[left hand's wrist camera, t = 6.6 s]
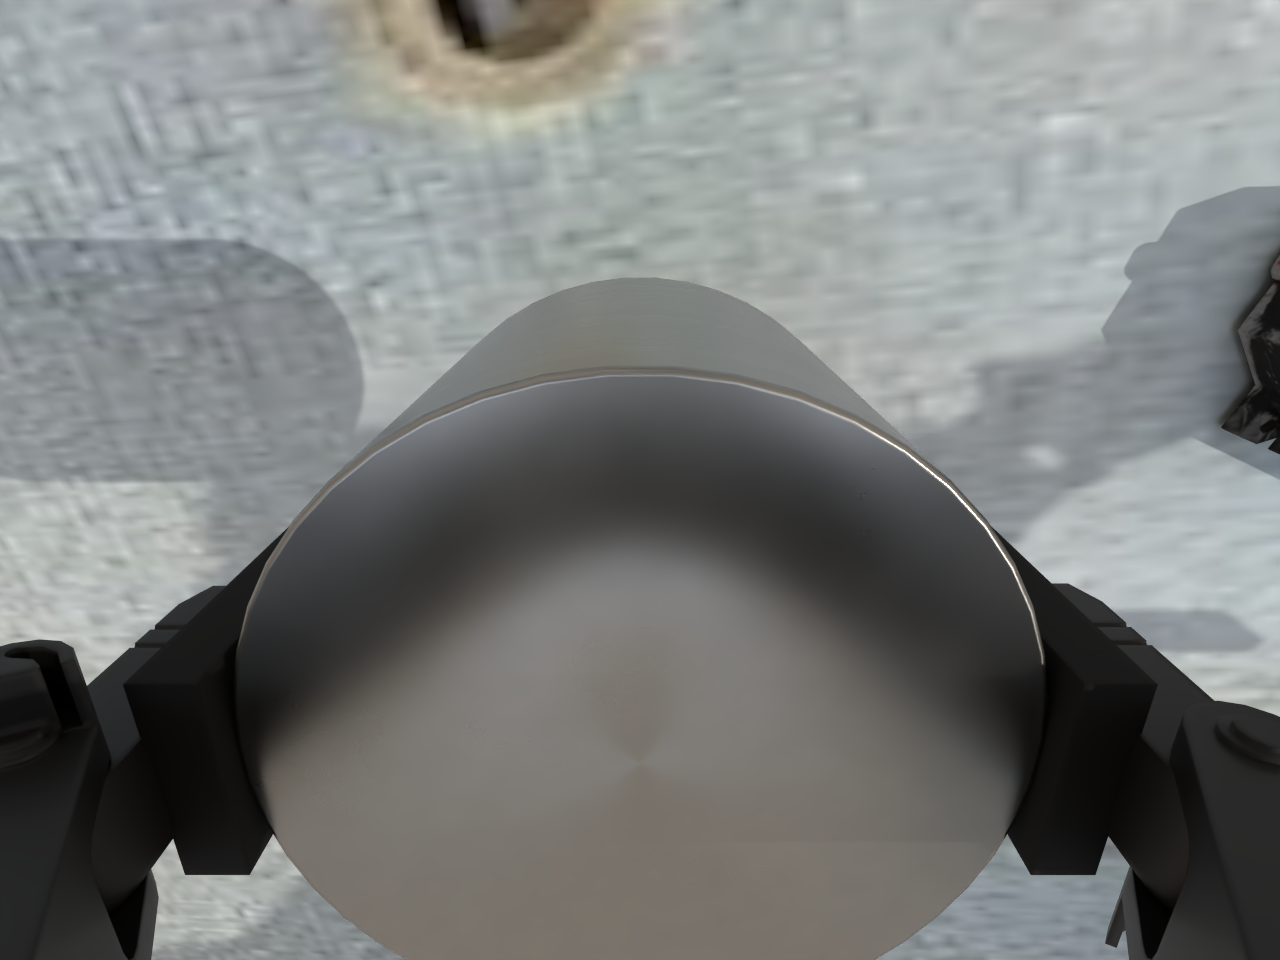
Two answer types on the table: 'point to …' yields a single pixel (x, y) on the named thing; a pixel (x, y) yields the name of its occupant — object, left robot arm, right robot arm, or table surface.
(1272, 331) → the gun
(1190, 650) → the table surface
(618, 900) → the canister
